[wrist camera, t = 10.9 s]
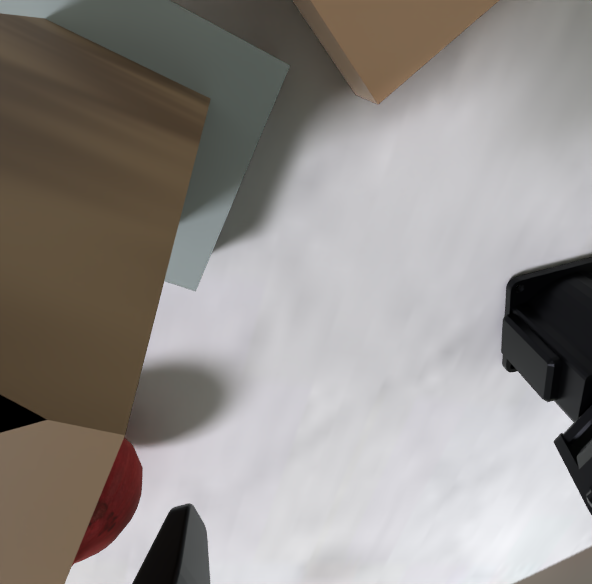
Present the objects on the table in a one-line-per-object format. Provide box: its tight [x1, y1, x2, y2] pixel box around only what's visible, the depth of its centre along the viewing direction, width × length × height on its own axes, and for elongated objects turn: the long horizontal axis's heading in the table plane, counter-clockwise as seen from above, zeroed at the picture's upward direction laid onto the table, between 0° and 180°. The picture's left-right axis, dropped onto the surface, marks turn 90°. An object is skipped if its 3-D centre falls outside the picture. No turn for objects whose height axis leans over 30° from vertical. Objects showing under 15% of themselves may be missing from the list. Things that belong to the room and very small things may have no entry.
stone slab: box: [0, 0, 290, 291], centre depth 16 cm, size 9×9×3 cm
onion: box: [71, 438, 143, 567], centre depth 21 cm, size 6×6×8 cm
